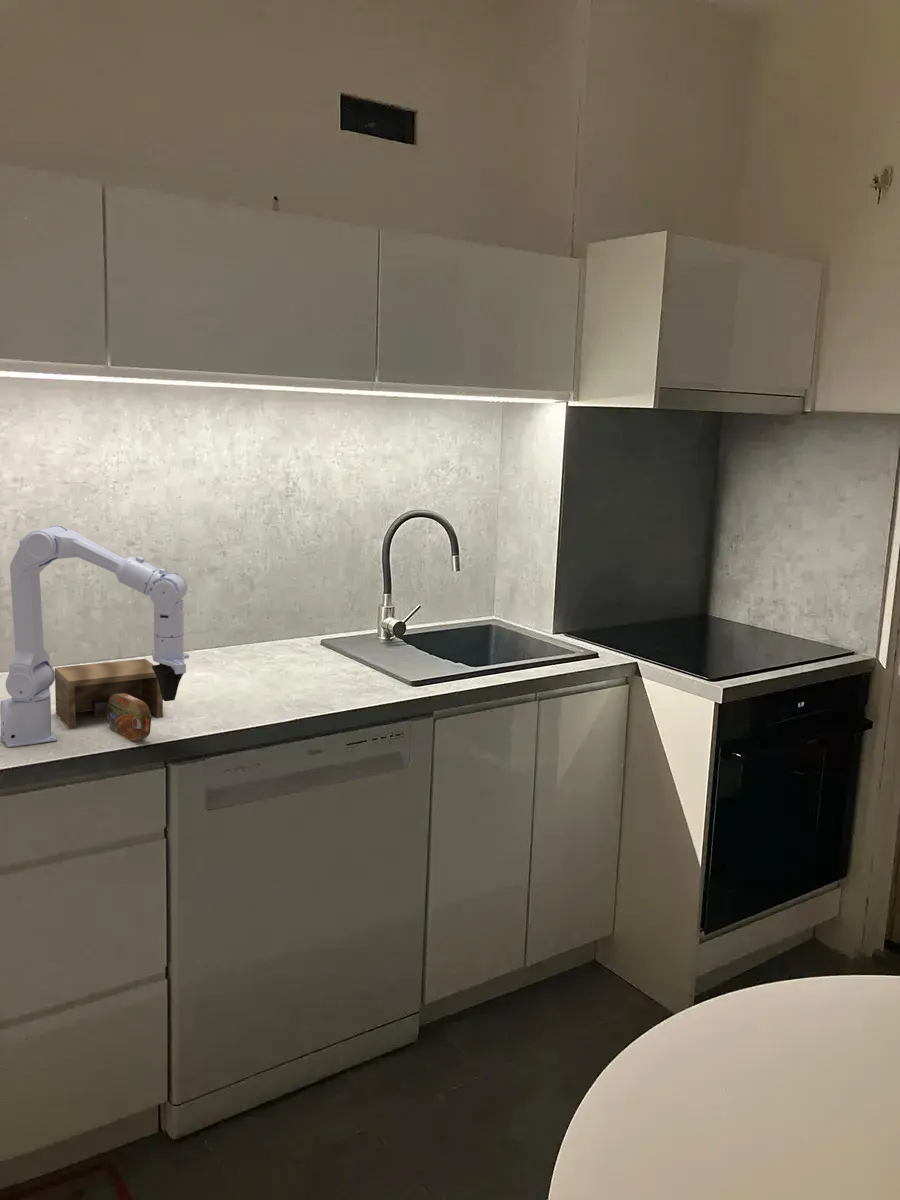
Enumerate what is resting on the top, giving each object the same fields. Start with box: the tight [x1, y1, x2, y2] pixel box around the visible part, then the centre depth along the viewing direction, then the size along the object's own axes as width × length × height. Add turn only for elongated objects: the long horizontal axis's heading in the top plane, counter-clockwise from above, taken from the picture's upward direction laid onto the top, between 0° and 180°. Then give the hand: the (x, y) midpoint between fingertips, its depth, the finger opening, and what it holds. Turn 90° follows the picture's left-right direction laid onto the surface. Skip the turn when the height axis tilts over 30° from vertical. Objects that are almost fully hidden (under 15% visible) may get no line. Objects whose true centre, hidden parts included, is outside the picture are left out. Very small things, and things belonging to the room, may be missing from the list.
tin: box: [106, 693, 152, 742], centre depth 211 cm, size 15×3×8 cm, turn 45°
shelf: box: [54, 658, 164, 730], centre depth 223 cm, size 20×12×10 cm, turn 124°
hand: (168, 699), depth 204 cm, fingers closed
